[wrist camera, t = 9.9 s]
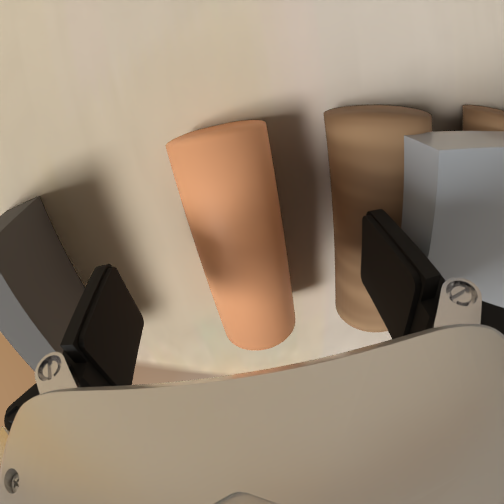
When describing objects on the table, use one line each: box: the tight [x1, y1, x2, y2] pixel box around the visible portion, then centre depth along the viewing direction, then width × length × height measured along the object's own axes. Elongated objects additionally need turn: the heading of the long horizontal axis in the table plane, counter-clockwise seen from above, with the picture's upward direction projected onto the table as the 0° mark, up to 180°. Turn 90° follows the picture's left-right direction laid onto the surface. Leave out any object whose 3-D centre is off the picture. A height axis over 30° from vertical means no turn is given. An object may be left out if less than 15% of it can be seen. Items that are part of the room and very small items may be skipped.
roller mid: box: [463, 105, 504, 131], centre depth 13 cm, size 10×4×4 cm, turn 10°
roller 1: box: [166, 120, 295, 350], centre depth 13 cm, size 10×4×4 cm, turn 10°
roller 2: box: [324, 105, 432, 332], centre depth 13 cm, size 10×4×4 cm, turn 10°
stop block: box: [0, 196, 85, 371], centre depth 13 cm, size 3×9×5 cm, turn 10°
